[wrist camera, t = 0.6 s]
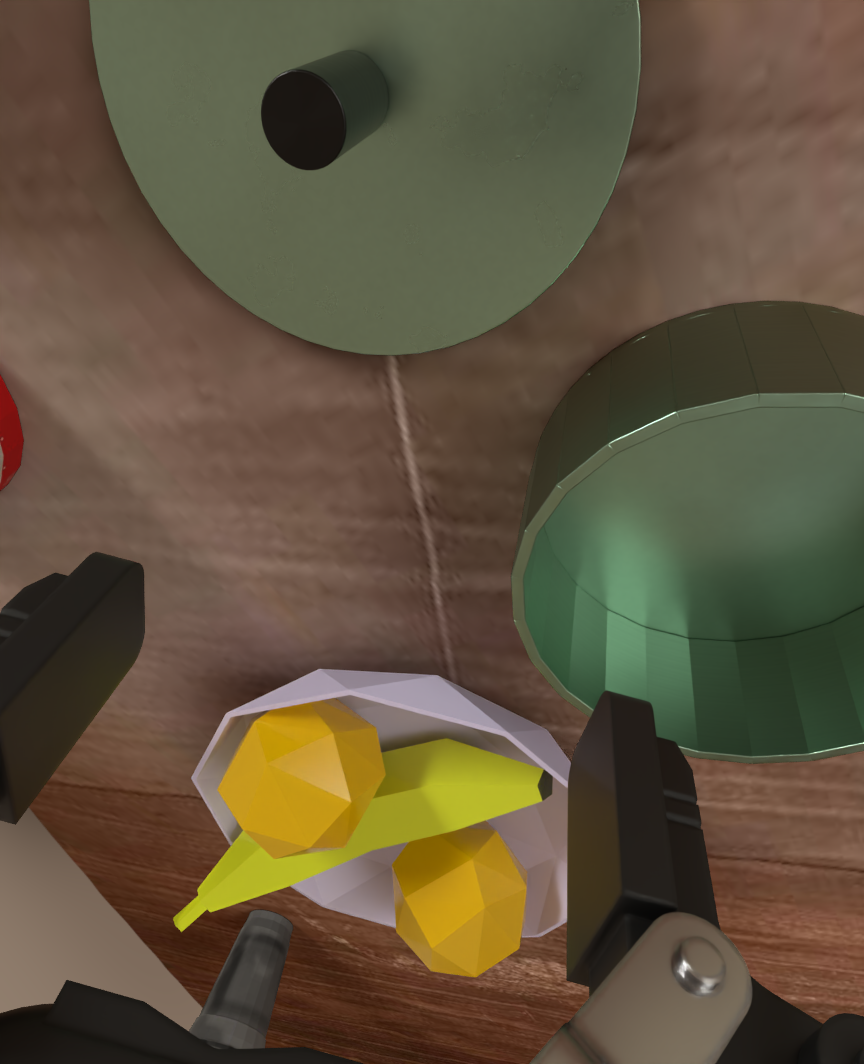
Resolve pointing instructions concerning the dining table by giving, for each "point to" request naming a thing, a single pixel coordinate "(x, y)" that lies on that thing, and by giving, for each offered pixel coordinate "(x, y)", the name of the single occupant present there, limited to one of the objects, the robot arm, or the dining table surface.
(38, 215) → the dining table surface
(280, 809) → the fruit bowl
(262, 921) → the beverage cup
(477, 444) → the dining table surface
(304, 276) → the lid
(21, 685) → the robot arm
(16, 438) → the kitchen timer
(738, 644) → the green open cylinder
